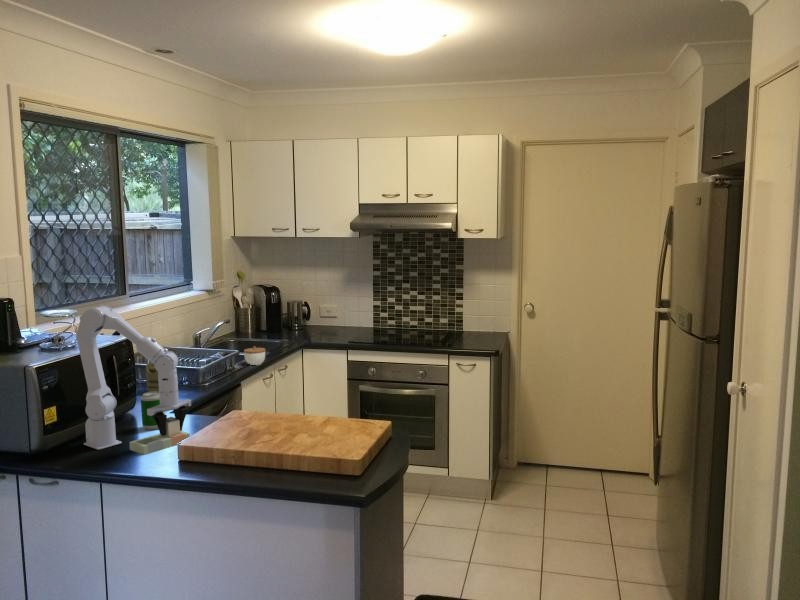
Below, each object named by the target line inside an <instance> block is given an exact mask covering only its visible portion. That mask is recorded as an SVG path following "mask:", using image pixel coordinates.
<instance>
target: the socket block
mask: <svg viewBox="0 0 800 600" xmlns="http://www.w3.org/2000/svg"><path fill="white" fill-rule="evenodd" d="M190 435H191V434H190V433H189V432H186V431H183V430H182V431H180V434H178V435H174V436H171V437H170V438H167V437H164V436H162V435H160V433H157V434H154V435H150V436H147V437H142V438H139V439H134V440H132V441H129V451H132V452H135V453H138V454H141V455H149V454H150V453H155V452H158V451H161V449H162V450H164V448H165V449H168V448H171V447H170V446H172V447H174V446H173V445H175V446H177V445H176V444H177V443H179V442H181V441H182V440H184V439H186V438H188V437H190V438H191V436H190ZM167 447H168V448H167Z"/></svg>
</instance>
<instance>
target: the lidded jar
mask: <svg viewBox="0 0 800 600" xmlns="http://www.w3.org/2000/svg"><path fill="white" fill-rule="evenodd" d="M243 355H244V360H245V362H246V363H247V364H248V365H249V364H250V365H249V366H251V365H256V366H261V365H262V364H263V363H264V361H265V359H266V348H264V347H257V346H255V345H254V346H253V347H250V348H245V349H243Z"/></svg>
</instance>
